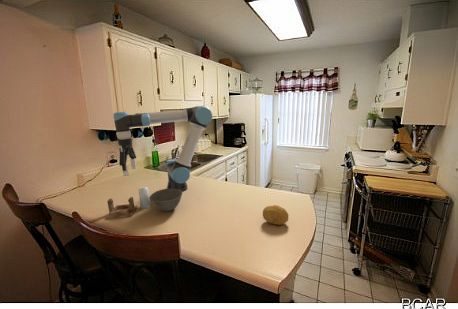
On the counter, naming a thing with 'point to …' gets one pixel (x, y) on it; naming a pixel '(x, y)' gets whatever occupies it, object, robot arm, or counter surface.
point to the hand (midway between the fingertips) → (130, 172)
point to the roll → (144, 197)
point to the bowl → (166, 198)
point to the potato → (275, 214)
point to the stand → (121, 209)
